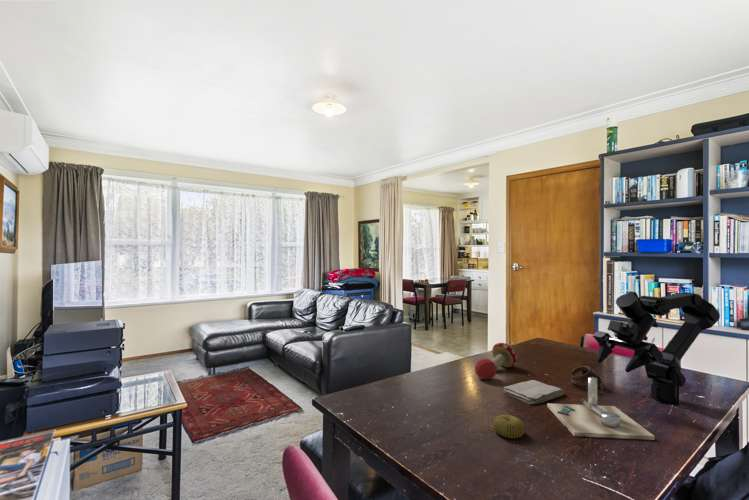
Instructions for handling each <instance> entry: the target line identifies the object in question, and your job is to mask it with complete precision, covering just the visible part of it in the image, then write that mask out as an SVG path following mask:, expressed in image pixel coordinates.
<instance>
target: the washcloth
mask: <svg viewBox="0 0 749 500" xmlns="http://www.w3.org/2000/svg"><path fill="white" fill-rule="evenodd" d="M502 389H503V392H502V393H503V394H505V395H506V396H508V397H511V398H513V399H515V400H517V401H520V402H522V403H525V404H526V405H535V404H540V403H544V402H547V401H549V400H552V399H555V398H559V397H562V396H563V395H564V393H565V390H564V389H562V388H561V387H558V386H554V385H549V384H546V383H544V382H541V381H538V380H536V379H531V380H527V381H521V382H518V383H514V384H511V385H507V386H503V388H502Z"/></svg>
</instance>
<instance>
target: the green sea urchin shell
mask: <svg viewBox="0 0 749 500" xmlns="http://www.w3.org/2000/svg"><path fill="white" fill-rule="evenodd" d="M492 426H493V428H494V431H495V432H496V433H497V434H498V435H500V436H502V437H504V438H507V439H518V438H521V437H522V436H524V434H525V431H526V427H525V423H524V422H523V421H522V420H521V419H520V418H519V417H518V416H514V415H512V414H500V415H496V416H495V417H494V418H493V422H492Z"/></svg>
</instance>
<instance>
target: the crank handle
mask: <svg viewBox="0 0 749 500" xmlns="http://www.w3.org/2000/svg"><path fill="white" fill-rule="evenodd" d="M587 382H588V384H587V398H584V399H583V405H587V406H588V407H589V408H591V409H592V410H594V411H595V412H596V413H598V414H599V415H601V423H602V424H604V425H606V426H609V427H614V428H617V427H620V416H619V415H617V414H615V413H612V412H607V411H604V410H603V409H601V408H600V407H598V406H599V405H598V386H597V378H594V377H588V381H587Z"/></svg>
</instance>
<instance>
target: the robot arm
mask: <svg viewBox="0 0 749 500" xmlns="http://www.w3.org/2000/svg"><path fill="white" fill-rule="evenodd" d="M615 304H616V306H617V308H618V309H620V311H621V312H622V313H623V315H624V316H625V317H626V318H627V319H629V321H628V322H623V321H620V320H619V321H618V320H612V319H610V320H609V324H608V327H607V330H608V331H610V332H612V333H613V336H614V337H615V338H613V337H612V336H611V335H610V333H608V332H604V331H600V330H596V331H595V333H594V334H593V335H592V337H593V339H595V341H596V342H597V344H598V354H597V360H596V361H597V364H601V363H603V362H604V361H605V360H606V359H607V357H609V356H610V355H611V354H612V353H613V352H614V351H613V349H614V348H615V347H620V348H622V349H627V350H631V351H633V355H632V357H631V359H630V360H629V362H628V363H627V365H626V367H625V368H624V371H625V372H626V373H630V372H633V371H635V370H636V369H638V368H641V367H643V366H644V368H645V373H646V378H647V379H651V380H652V381H651V382H652V383H651V384H650V394H648V395H649V397H650V398H652V399H654V400H655V401H657V402H658V403H660V404H664V405H665V404H666V405H684V402H682V401H681V400H680V388H682V387H684V386H685V384H686V380H687V378H686V377H685V375H684V374H683V373H682V366H681V360H682V358H684V355H685V354H686V353H687V351H688V350H689V349H690V348H691V346H692V344H693V343H694V342H695V340H696V339H697V338H698V337H699V335H700V333H701V332H702V331H705V330H708V329H710V328H712V327H713V326H714V325H716V323H718V322H719V320H720V317H721V314H720V311H719V310H718V309H717V308H716V306H715V305H714V304H712V303H711V302H709V301H707V300H706V299H704V298H703V297H702V296H701V295H700V294H698V293H694V292H693V293H692V292H680V293H677V294H671V295H665V296H650V295H641V296H639V295H638V294H637V292H636V291H628V292H627V293H625V294H622V295H620V296H618V297H617V298H616V300H615ZM675 309H680V310H681V311H682V315H683V319H684V322H683V323H682V325H681V326H680V328H679V329H678V330H677V331H676V333H675V334H674V336H673V337H672V338H671V339H670V341H668V343H667V345H666V346H665V347H664V349H663V350H660V349H659V347H658V346H657V345H656V344H655V343H651V342H647V341H648V336H647V335H648V333H649V331H650V330H651V329H652V328H658V327H659V324H658V322H657V318H655V317H654V316H658V317H659V316H660V317H663V316H665V315H667V314H670V313H671V310H675Z"/></svg>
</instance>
